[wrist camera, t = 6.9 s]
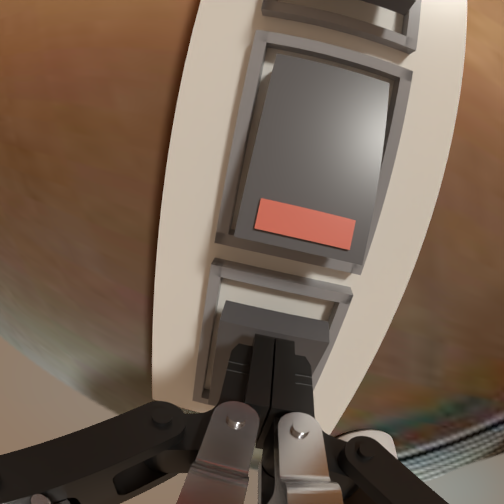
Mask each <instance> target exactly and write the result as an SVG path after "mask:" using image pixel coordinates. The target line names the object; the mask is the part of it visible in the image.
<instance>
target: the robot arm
mask: <svg viewBox="0 0 504 504" xmlns="http://www.w3.org/2000/svg"><path fill="white" fill-rule="evenodd" d="M312 385H313V384H312V370H311V365H310V363H309V362H308V360H307V358H306V357H305V356H301V355H295V342H294V341H291V340H286V339H281V338H275V339H274V337H271V336H266V335H261V334H256V333H255V336H254V340H253V344H252V346H249V345H245V344H240V343H239V344H238V345H237V346H236V347H235V348H234V349H233V350H232V351H231V354H230V358H229V362H228V366H227V371H226V374H225V379H224V383H223V387H222V391H221V395H220V399H219V402H218V403H217V405H216V406H215V407H214V408H213V409H211V410H209V411H207V412H204V413H199V414H184V413H183V411H182V410H181V409H180V408H179V407H177V406H176V405H174V404H172V403H169V402H165V401H154V402H150V403H147V404H145V405H143V406H140V407H138V408H136V409H133V410H131V411H128V412H126V413H123V414H121V415H118V416H116V417H114V418H111V419H108V420H106V421H103V422H101V423H98V424H95V425H93V426H90V427H88V428H85V429H82V430H79V431H76V432H74V433H71V434H68V435H65V436H62V437H59V438H56V439H53V440H50V441H47V442H44V443H41V444H38V445H34V446H31V447H28V448H24V449H21V450H18V451H14V452H10V453H7V454H3V455H0V504H120V503H122V502H124V501H127V500H129V499H131V498H133V497H135V496H137V495H139V494H141V493H143V492H145V491H147V490H149V489H151V488H153V487H155V486H157V485H159V484H161V483H163V482H165V481H167V480H168V479H170V478H172V477H174V476H176V475H177V474H178V473H188V475H187V477H186V480H185V483H184V486H183V488H182V490H181V493H180V495H179V498H178V501H177V503H176V504H243V503H244V499H245V495H246V490H247V486H248V481H249V477H248V472H249V468H250V464H251V459H252V455H253V450H254V446H255V442H256V447H255V448H260V449H263V454H262V459H261V461H260V463H259V467H258V504H448V503H447V502H446V501H445V500H444V499H442V498H441V497H440V496H439V495H438V494H437V493H435V492H434V491H433V490H432V489H431V488H430V487H428V486H427V485H426V484H425V483H424V482H423V481H421V480H420V479H419V478H418V477H417V476H416V475H415V474H413V473H412V472H411V471H410V470H409V469H408V468H407V467H405V466H404V465H403V464H402V463H401V462H400V461H399V460H398V459H396V458H395V457H394V456H393V455H392V454H391V453H390V452H389V451H388V450H387V449H385V448H384V447H383V446H382V445H381V444H380V443H379V442H378V441H376V440H375V439H373V438H371V437H367V436H356V437H353V438H352V439H350V440H349V441H348V442H346V441H343V440H341V439H338V438H335V437H333V436H330V435H328V434H327V433H325V432H324V431H323V430H322V428H321V426H320V424H319V423H318V421H317V420H316V419H315V414H314V398H313V387H312Z"/></svg>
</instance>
